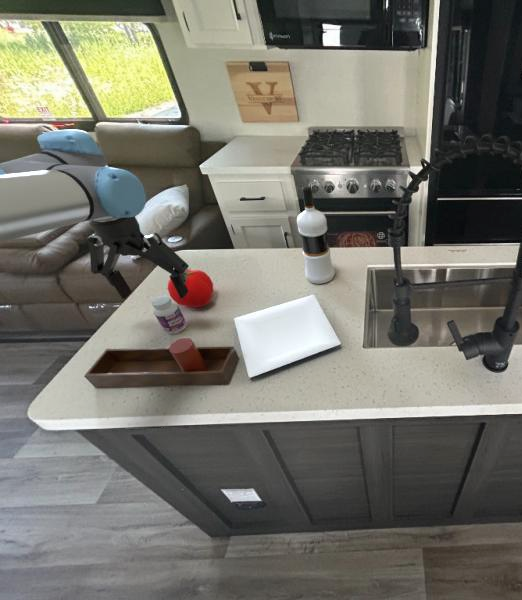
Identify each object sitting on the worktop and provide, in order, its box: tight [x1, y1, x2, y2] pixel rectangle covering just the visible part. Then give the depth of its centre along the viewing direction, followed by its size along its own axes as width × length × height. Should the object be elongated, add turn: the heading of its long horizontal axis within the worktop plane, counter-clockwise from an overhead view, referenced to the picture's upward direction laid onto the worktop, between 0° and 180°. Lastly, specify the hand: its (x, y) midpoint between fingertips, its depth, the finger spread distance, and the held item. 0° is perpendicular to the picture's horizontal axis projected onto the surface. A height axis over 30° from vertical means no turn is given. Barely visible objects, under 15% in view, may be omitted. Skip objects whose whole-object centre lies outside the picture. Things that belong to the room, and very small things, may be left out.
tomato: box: [167, 267, 214, 308], centre depth 94 cm, size 11×13×10 cm
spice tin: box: [168, 337, 207, 372], centre depth 74 cm, size 5×5×9 cm
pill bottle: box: [151, 295, 188, 335], centre depth 85 cm, size 5×5×10 cm
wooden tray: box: [84, 345, 240, 389], centre depth 76 cm, size 29×8×4 cm, turn 93°
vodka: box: [296, 185, 335, 285], centre depth 98 cm, size 9×9×30 cm
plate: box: [233, 294, 341, 379], centre depth 87 cm, size 22×22×2 cm
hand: (156, 295), depth 81 cm, fingers open, 13 cm apart
